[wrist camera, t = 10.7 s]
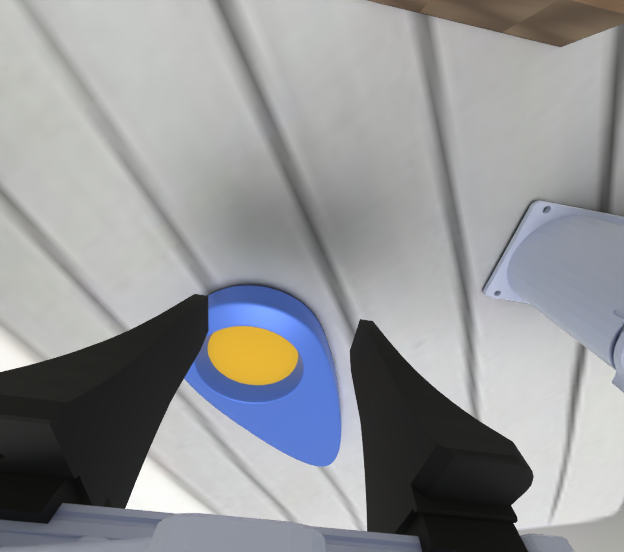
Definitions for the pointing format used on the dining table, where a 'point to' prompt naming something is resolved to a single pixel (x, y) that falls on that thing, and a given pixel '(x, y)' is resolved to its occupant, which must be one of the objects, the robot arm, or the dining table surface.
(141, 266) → the dining table surface
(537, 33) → the socket block
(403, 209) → the dining table surface
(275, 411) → the location marker
